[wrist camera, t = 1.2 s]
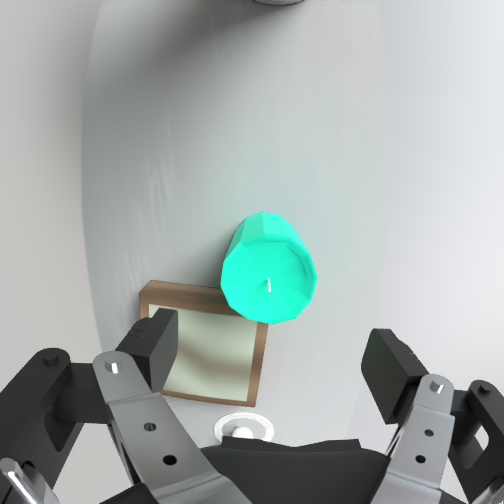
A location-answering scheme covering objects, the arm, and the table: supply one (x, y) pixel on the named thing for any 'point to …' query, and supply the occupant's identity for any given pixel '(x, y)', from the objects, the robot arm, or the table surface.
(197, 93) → the table surface
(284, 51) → the table surface
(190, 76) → the table surface
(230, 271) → the candle
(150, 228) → the table surface
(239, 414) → the teacup and saucer
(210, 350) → the framed mirror
